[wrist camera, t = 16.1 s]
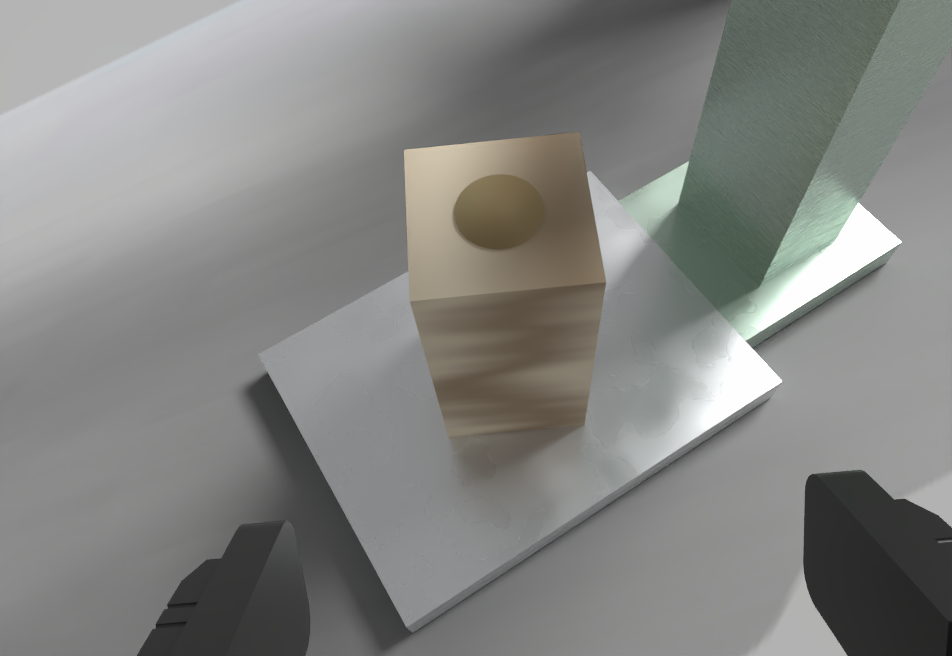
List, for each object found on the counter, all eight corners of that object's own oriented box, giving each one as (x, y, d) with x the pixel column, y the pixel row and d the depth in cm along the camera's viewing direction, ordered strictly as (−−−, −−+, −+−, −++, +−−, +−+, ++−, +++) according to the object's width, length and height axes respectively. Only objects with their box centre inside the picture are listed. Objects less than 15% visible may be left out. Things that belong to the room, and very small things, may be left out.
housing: (448, 437, 29) (409, 299, 20) (441, 318, 31) (403, 147, 22) (584, 424, 29) (606, 279, 20) (567, 306, 31) (579, 129, 22)
